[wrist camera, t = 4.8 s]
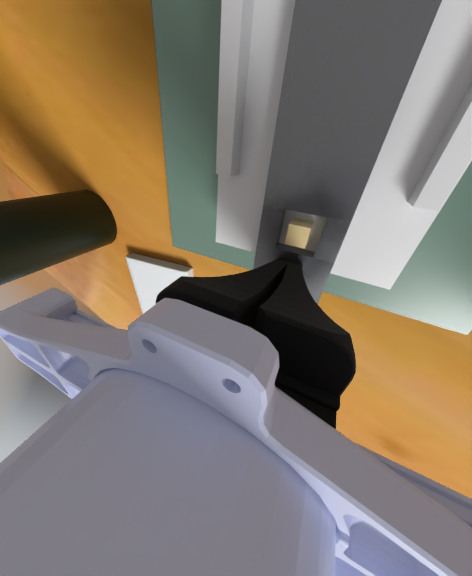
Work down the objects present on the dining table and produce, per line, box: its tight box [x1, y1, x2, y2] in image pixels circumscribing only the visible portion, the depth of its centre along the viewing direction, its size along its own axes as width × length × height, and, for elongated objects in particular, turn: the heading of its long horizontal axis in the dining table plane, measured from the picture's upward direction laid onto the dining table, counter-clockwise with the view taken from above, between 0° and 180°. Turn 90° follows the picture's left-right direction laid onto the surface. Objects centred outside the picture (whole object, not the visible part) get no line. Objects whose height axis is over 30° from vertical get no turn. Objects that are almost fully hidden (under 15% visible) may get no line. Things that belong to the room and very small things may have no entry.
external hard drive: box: [125, 253, 194, 314], centre depth 25 cm, size 2×8×12 cm
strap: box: [253, 0, 442, 304], centre depth 8 cm, size 16×4×1 cm, turn 175°
